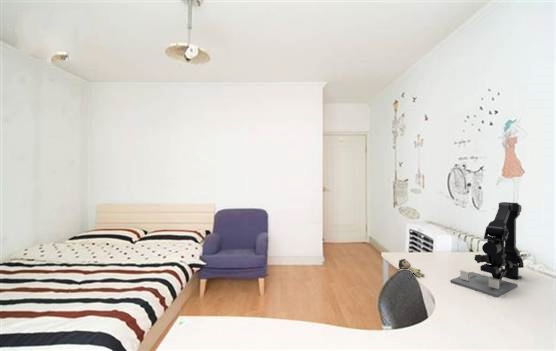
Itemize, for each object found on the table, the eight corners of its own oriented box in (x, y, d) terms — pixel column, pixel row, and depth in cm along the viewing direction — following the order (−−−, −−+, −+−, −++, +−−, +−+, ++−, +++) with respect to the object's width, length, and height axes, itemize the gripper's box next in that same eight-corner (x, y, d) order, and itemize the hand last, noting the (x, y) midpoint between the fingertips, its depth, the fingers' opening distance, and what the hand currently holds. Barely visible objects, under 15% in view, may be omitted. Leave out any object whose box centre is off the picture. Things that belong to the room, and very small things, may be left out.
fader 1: (461, 277, 142) (461, 269, 142) (470, 280, 138) (470, 272, 138) (459, 278, 141) (459, 270, 141) (468, 281, 137) (468, 272, 137)
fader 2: (489, 285, 132) (489, 276, 132) (499, 288, 129) (499, 279, 128) (487, 286, 131) (487, 277, 131) (498, 289, 128) (497, 280, 127)
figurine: (417, 272, 144) (395, 258, 158) (415, 283, 146) (394, 268, 159) (428, 269, 148) (406, 256, 161) (426, 280, 149) (404, 266, 162)
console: (472, 274, 151) (472, 270, 151) (517, 286, 134) (517, 283, 134) (450, 282, 140) (450, 278, 140) (497, 297, 123) (497, 293, 123)
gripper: (486, 244, 143) (486, 274, 143) (468, 250, 133) (468, 282, 133) (513, 249, 133) (513, 282, 133) (495, 256, 124) (495, 290, 124)
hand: (496, 283), depth 131 cm, fingers closed
